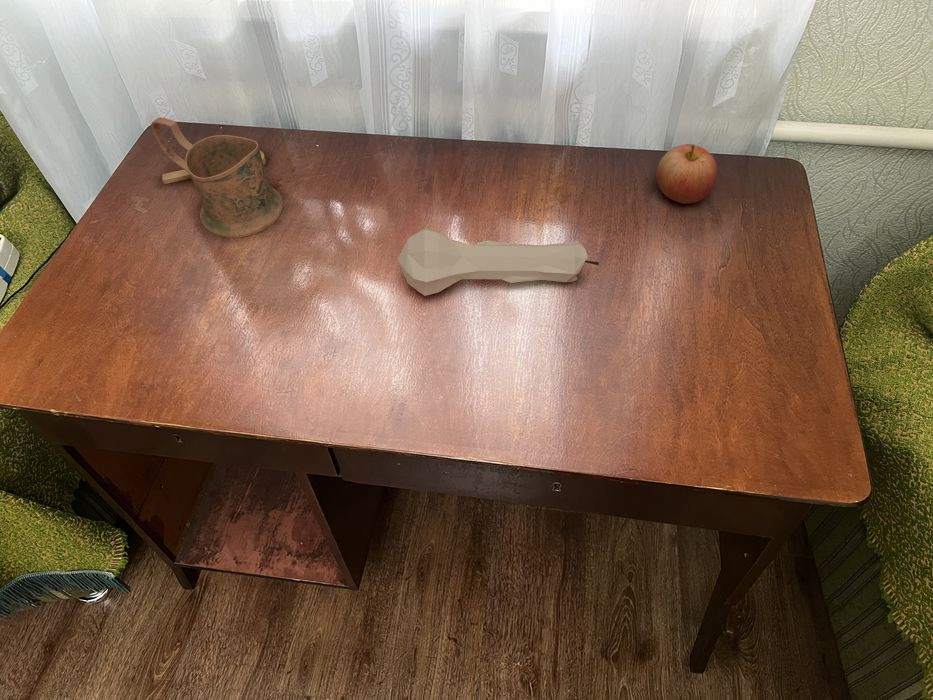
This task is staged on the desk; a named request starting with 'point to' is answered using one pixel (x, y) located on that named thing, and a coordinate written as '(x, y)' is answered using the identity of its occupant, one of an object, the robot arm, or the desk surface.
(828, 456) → the desk surface
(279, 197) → the mug
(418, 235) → the faceted club
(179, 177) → the spoon
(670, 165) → the apple
